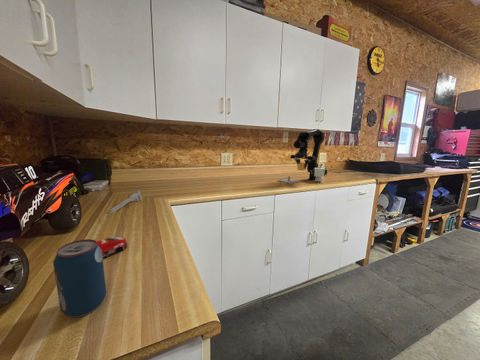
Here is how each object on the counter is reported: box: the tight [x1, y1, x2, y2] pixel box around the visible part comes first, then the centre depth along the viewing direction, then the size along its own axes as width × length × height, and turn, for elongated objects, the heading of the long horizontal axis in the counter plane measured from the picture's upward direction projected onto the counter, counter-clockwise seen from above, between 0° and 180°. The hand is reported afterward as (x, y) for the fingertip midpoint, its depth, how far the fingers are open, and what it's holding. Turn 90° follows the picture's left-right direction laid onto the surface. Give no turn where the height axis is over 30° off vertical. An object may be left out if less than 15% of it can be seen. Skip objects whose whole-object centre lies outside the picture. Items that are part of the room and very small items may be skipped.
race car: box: [96, 236, 128, 260], centre depth 55 cm, size 13×5×4 cm, turn 146°
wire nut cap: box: [297, 162, 307, 171], centre depth 163 cm, size 5×5×6 cm
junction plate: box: [277, 175, 301, 185], centre depth 168 cm, size 13×13×4 cm
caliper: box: [107, 188, 142, 214], centre depth 96 cm, size 20×1×6 cm, turn 170°
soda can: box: [52, 238, 107, 318], centre depth 38 cm, size 7×7×12 cm
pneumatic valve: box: [311, 166, 328, 183], centre depth 171 cm, size 6×12×12 cm, turn 77°
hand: (301, 168), depth 163 cm, fingers closed on wire nut cap, 5 cm apart
